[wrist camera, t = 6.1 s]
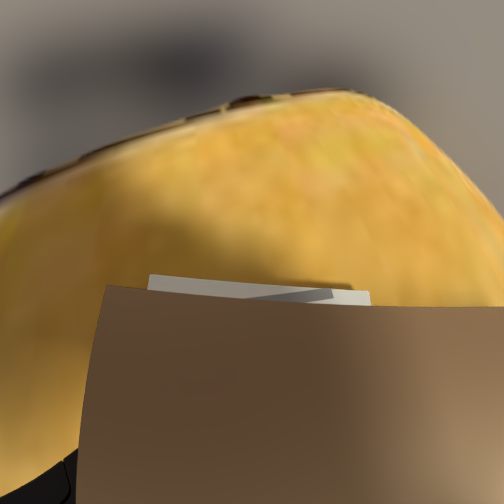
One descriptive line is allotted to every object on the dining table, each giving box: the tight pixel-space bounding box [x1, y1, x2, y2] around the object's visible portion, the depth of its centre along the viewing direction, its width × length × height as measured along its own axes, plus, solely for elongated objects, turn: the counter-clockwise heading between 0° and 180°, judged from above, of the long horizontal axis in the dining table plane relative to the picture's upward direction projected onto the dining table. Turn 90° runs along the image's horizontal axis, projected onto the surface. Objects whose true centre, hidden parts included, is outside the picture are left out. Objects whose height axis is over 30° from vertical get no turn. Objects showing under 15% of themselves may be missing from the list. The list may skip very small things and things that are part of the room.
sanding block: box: [76, 285, 504, 504], centre depth 6 cm, size 4×6×11 cm, turn 88°
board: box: [147, 274, 371, 306], centre depth 12 cm, size 16×11×1 cm
